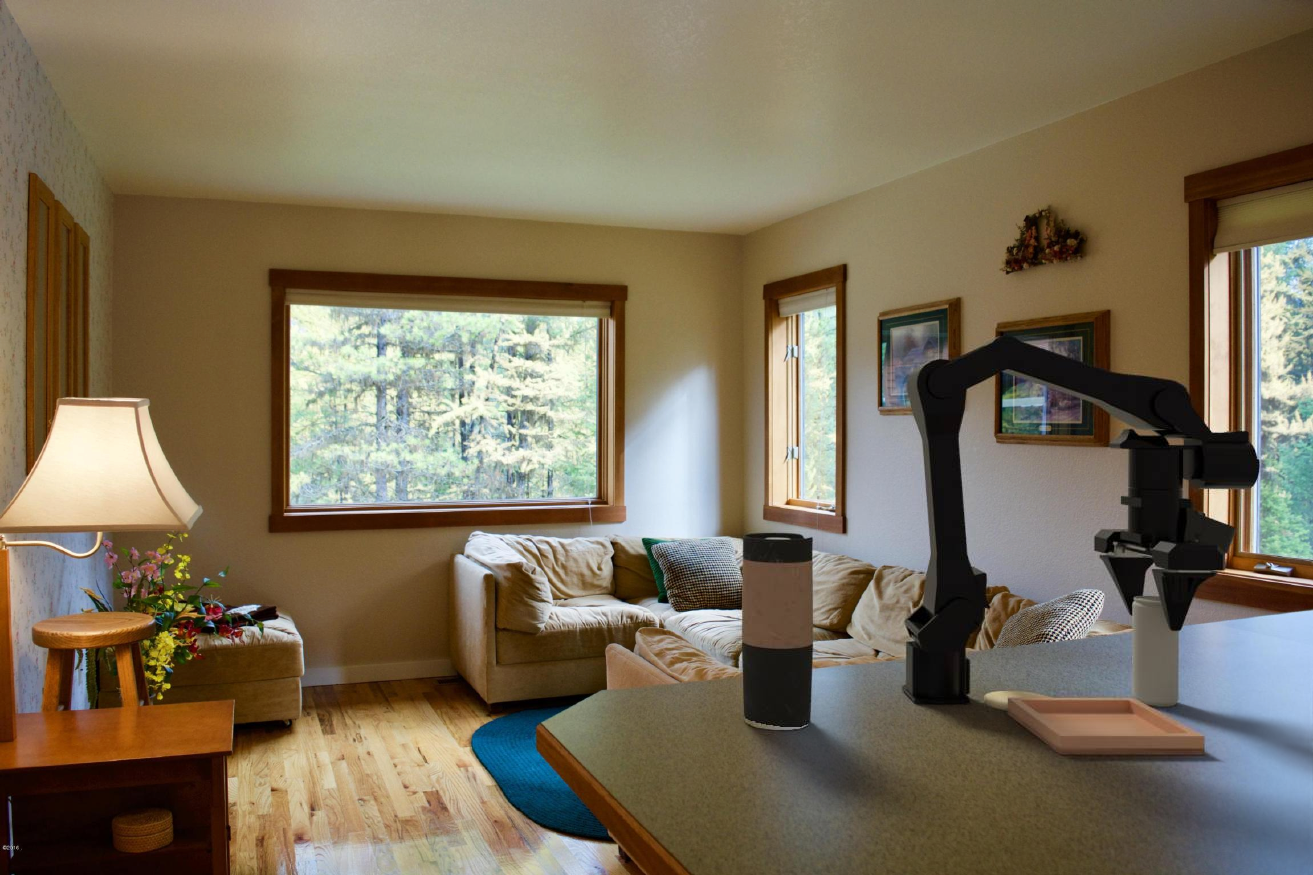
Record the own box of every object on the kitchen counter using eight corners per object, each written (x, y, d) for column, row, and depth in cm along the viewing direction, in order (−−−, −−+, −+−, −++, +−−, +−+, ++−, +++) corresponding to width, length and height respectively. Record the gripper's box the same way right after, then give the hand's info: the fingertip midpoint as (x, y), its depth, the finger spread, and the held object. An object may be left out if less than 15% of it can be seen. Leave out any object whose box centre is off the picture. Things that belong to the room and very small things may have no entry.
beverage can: (1174, 710, 111) (1174, 603, 111) (1127, 703, 114) (1128, 599, 114) (1182, 701, 114) (1182, 598, 114) (1136, 694, 117) (1137, 594, 117)
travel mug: (730, 725, 104) (730, 537, 104) (757, 708, 111) (757, 531, 111) (798, 735, 101) (799, 540, 101) (822, 717, 107) (822, 534, 107)
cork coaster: (998, 713, 109) (998, 709, 109) (974, 694, 117) (974, 690, 117) (1070, 713, 109) (1070, 709, 109) (1041, 694, 117) (1041, 690, 117)
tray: (1060, 754, 95) (1060, 735, 95) (1007, 713, 109) (1007, 697, 109) (1204, 754, 95) (1204, 736, 95) (1133, 713, 109) (1133, 697, 109)
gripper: (1275, 493, 105) (1274, 639, 105) (1181, 485, 123) (1180, 609, 123) (1171, 493, 105) (1170, 639, 105) (1092, 484, 123) (1091, 608, 123)
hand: (1154, 622), depth 114 cm, fingers open, 9 cm apart
